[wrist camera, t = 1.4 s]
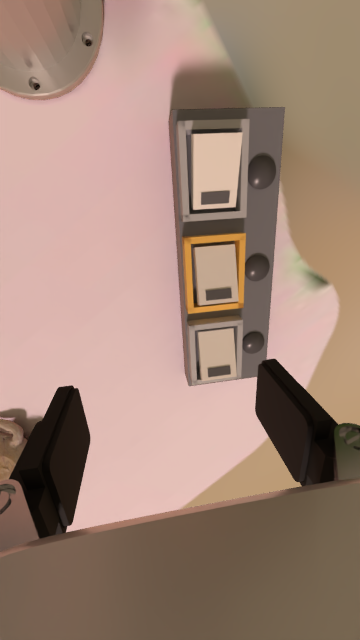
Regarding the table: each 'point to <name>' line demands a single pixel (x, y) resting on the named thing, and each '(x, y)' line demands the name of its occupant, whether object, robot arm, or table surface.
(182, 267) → the rocker switch panel
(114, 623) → the robot arm
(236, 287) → the rocker middle
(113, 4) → the table surface
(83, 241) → the table surface
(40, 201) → the table surface
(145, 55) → the table surface
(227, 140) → the rocker
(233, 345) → the rocker
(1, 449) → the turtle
